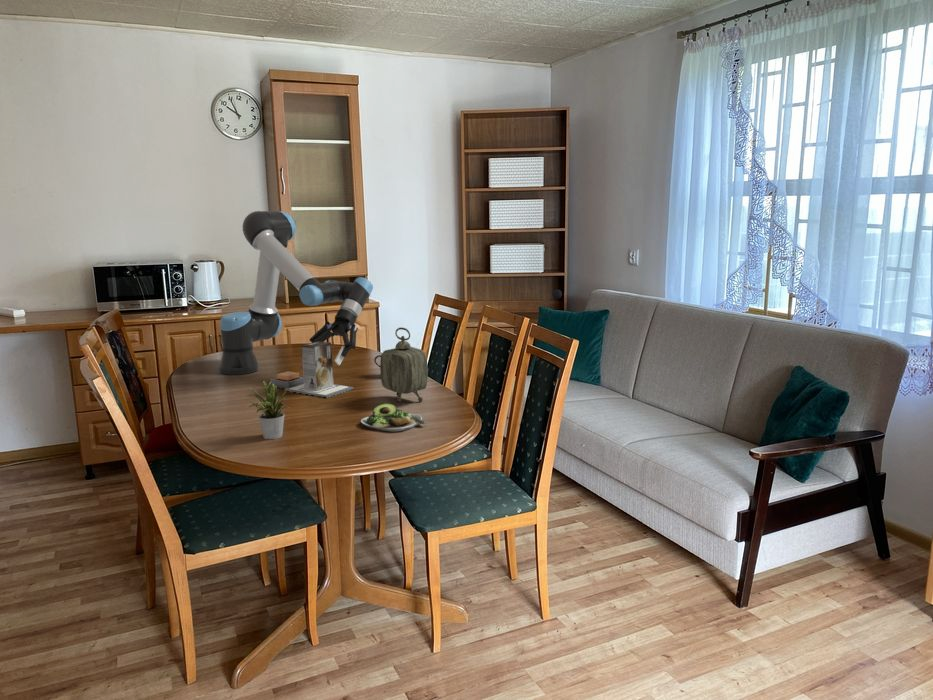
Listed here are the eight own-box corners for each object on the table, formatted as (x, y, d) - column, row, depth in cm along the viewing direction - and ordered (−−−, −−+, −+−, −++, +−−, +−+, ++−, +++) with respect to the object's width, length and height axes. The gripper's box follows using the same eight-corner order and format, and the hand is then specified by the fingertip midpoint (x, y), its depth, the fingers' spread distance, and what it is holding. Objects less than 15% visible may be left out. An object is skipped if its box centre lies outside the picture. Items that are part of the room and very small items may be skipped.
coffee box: (320, 383, 252) (318, 340, 249) (334, 385, 249) (332, 342, 246) (303, 389, 244) (300, 345, 241) (317, 391, 241) (314, 346, 238)
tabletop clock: (428, 401, 230) (427, 328, 225) (408, 407, 223) (407, 331, 218) (398, 394, 239) (396, 323, 235) (379, 399, 233) (376, 327, 228)
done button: (276, 378, 252) (276, 374, 252) (287, 375, 257) (287, 371, 257) (288, 380, 249) (287, 376, 249) (299, 377, 254) (298, 373, 254)
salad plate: (439, 421, 210) (439, 406, 209) (406, 437, 194) (406, 422, 194) (387, 412, 219) (387, 398, 218) (352, 428, 204) (352, 413, 203)
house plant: (237, 433, 198) (233, 378, 194) (283, 425, 205) (280, 372, 202) (253, 447, 186) (249, 388, 183) (302, 437, 194) (299, 381, 191)
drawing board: (284, 391, 245) (284, 388, 245) (311, 382, 257) (311, 380, 257) (327, 398, 235) (327, 395, 235) (353, 389, 247) (353, 386, 247)
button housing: (270, 386, 252) (269, 379, 252) (288, 381, 260) (287, 374, 259) (288, 389, 247) (288, 382, 247) (306, 384, 255) (306, 377, 255)
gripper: (379, 322, 252) (354, 370, 242) (328, 317, 264) (302, 363, 255) (369, 310, 246) (343, 358, 237) (317, 305, 259) (291, 351, 249)
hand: (322, 361), depth 246 cm, fingers open, 13 cm apart
